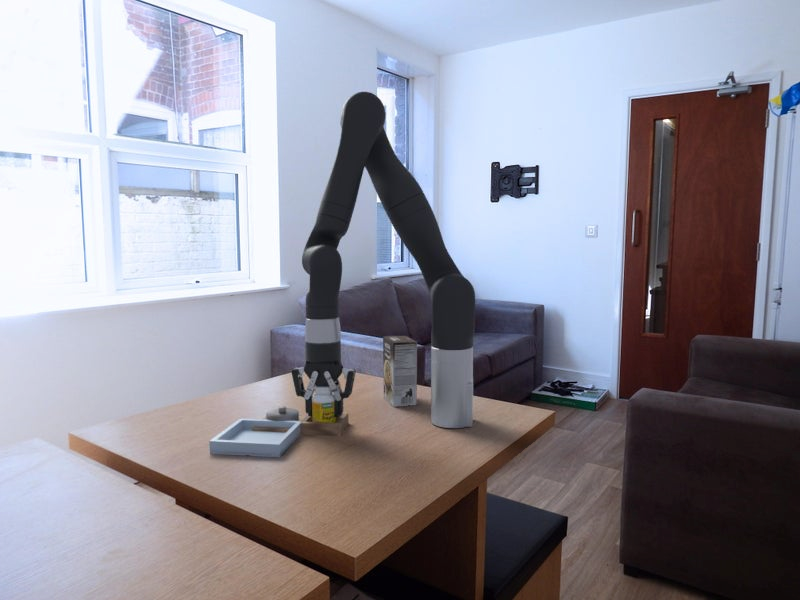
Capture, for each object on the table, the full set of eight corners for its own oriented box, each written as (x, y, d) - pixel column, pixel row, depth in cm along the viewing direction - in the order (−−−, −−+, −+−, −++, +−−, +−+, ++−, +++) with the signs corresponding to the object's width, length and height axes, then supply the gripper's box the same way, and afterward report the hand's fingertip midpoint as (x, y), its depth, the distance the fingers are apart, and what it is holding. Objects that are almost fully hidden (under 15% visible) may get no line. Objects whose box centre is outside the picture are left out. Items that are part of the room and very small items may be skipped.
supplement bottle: (327, 423, 129) (326, 381, 128) (342, 428, 125) (341, 385, 124) (307, 428, 125) (306, 385, 124) (322, 434, 121) (321, 390, 120)
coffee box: (382, 397, 149) (382, 336, 147) (406, 395, 151) (406, 334, 149) (392, 407, 140) (392, 342, 138) (417, 405, 142) (417, 340, 140)
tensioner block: (349, 422, 129) (349, 403, 129) (338, 437, 119) (337, 416, 119) (269, 418, 132) (268, 400, 131) (252, 433, 122) (251, 413, 122)
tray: (302, 432, 122) (302, 421, 122) (279, 457, 109) (279, 444, 108) (240, 429, 125) (240, 418, 124) (209, 453, 111) (209, 441, 110)
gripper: (359, 336, 125) (360, 411, 127) (296, 334, 127) (298, 409, 129) (351, 342, 118) (352, 422, 120) (284, 340, 120) (286, 419, 122)
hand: (324, 415), depth 124 cm, fingers closed on supplement bottle, 5 cm apart
